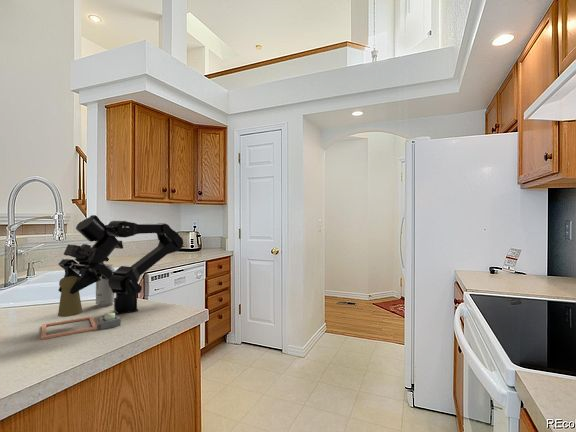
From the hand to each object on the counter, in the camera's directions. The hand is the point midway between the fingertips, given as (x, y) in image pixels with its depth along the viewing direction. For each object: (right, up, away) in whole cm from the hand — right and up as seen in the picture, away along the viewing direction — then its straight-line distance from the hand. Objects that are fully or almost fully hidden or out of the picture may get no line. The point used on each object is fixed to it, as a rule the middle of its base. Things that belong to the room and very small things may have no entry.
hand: (65, 292), depth 93 cm
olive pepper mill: (+1, -7, +1) cm, 7 cm away
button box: (+11, -11, +4) cm, 16 cm away
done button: (+11, -11, +4) cm, 16 cm away
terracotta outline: (0, -11, +1) cm, 11 cm away
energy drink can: (-3, -11, +26) cm, 28 cm away
